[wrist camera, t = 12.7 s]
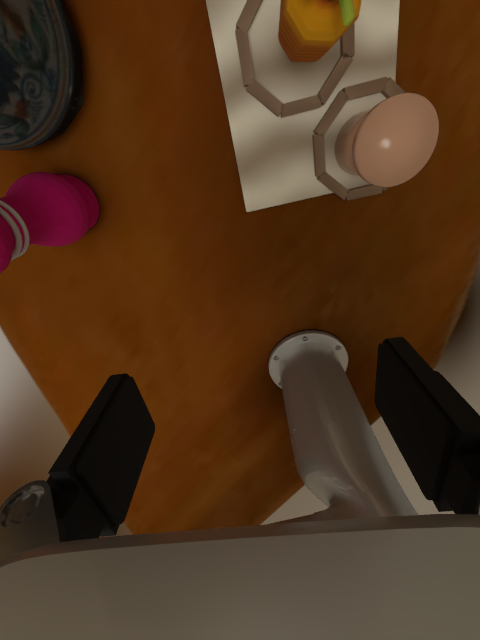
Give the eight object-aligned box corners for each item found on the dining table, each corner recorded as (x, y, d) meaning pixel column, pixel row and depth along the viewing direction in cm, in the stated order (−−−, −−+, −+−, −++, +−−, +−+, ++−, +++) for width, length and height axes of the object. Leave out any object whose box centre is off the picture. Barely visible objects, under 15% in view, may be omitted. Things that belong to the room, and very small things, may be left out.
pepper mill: (27, 192, 33) (-203, 240, 16) (69, 155, 31) (-141, 162, 14) (75, 245, 36) (-73, 331, 19) (116, 214, 34) (-7, 279, 17)
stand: (401, 184, 32) (411, 186, 31) (247, 218, 34) (248, 222, 32) (426, -153, 21) (445, -185, 19) (192, -73, 23) (187, -94, 21)
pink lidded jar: (392, 171, 30) (432, 177, 24) (332, 185, 31) (356, 194, 25) (396, 98, 27) (444, 82, 21) (329, 115, 28) (355, 105, 22)
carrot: (334, 28, 25) (435, -105, 12) (304, 93, 27) (362, 42, 14) (284, -7, 24) (336, -192, 11) (258, 65, 26) (275, -18, 13)
